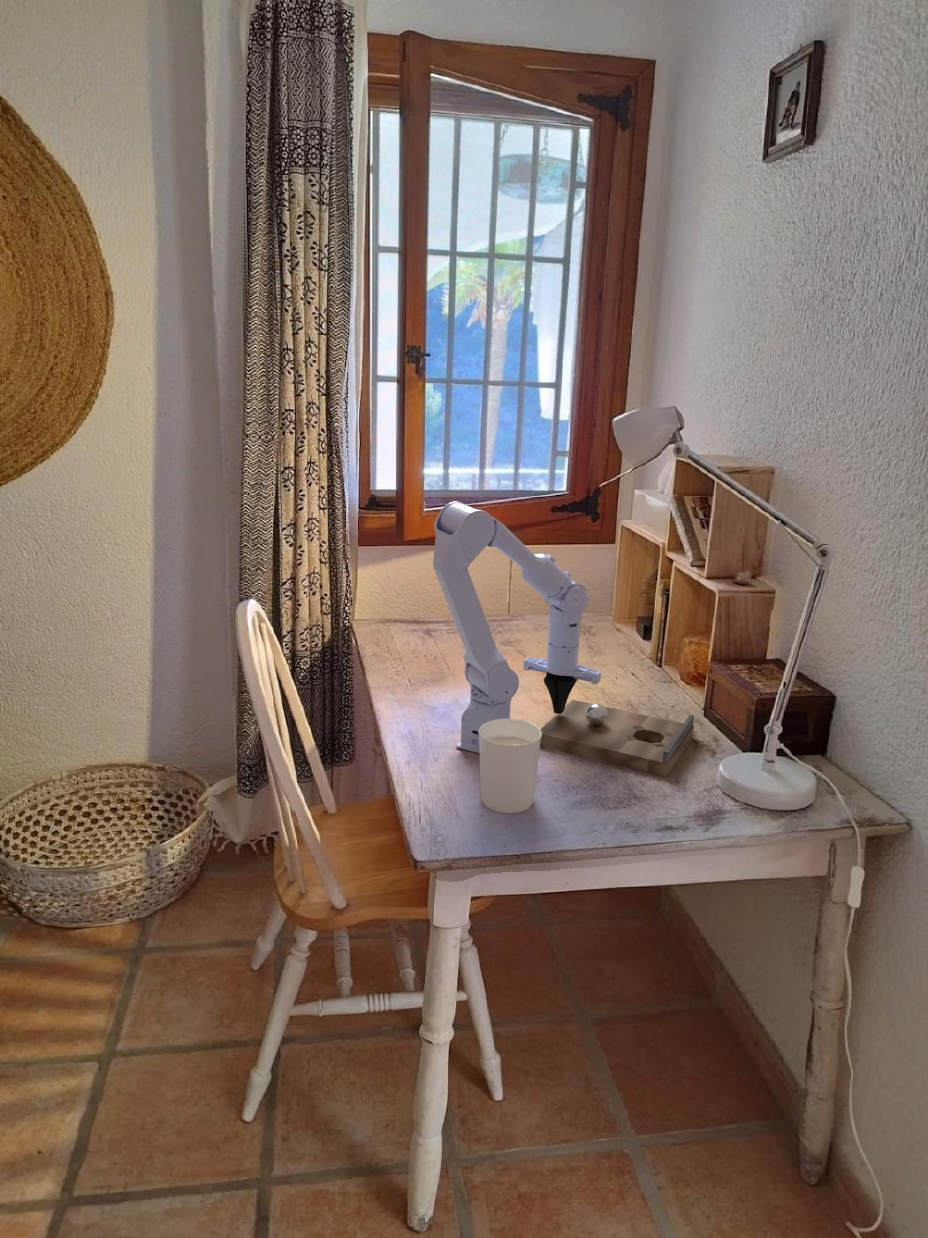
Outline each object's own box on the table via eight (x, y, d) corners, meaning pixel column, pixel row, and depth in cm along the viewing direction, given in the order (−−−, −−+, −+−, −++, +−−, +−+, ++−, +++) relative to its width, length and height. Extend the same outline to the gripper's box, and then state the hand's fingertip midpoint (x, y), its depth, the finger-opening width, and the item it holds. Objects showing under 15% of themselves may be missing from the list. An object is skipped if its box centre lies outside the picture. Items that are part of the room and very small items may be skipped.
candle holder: (550, 800, 142) (554, 731, 138) (511, 823, 135) (515, 751, 131) (502, 780, 148) (505, 713, 144) (463, 800, 141) (465, 731, 137)
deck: (535, 745, 161) (537, 722, 160) (571, 711, 176) (573, 690, 175) (666, 777, 150) (669, 752, 149) (692, 738, 166) (695, 715, 164)
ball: (602, 730, 162) (604, 710, 161) (581, 726, 164) (583, 705, 162) (609, 723, 165) (611, 703, 164) (589, 718, 167) (590, 698, 166)
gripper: (608, 644, 163) (602, 712, 168) (535, 630, 170) (531, 697, 174) (595, 655, 157) (590, 725, 162) (520, 641, 164) (517, 709, 168)
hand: (559, 711), depth 167 cm, fingers closed
